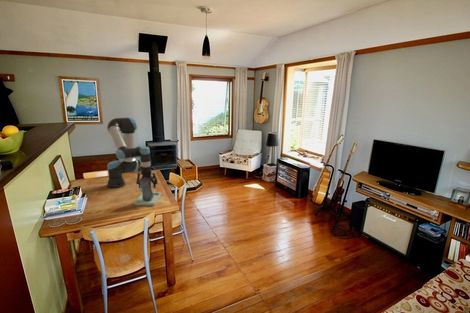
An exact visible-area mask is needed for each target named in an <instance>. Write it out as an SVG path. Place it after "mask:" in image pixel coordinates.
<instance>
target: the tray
mask: <svg viewBox="0 0 470 313" xmlns="http://www.w3.org/2000/svg"><path fill="white" fill-rule="evenodd" d="M152 193H153V198H152V199H150V200H143V199H142V193H141V194H140V195H139V196H138V197H137V198H136V200H135V201H134V202H133V206H135V207H136V206H137V207H138V206H139V207H141V206H142V207H144V206H145V207H146V206H147V207H154V206H156V204H157V203H158V201H159V200H160V197H161V196H162V192H158V191H155V192H153V191H152Z"/></svg>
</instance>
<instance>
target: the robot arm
mask: <svg viewBox="0 0 470 313" xmlns="http://www.w3.org/2000/svg"><path fill="white" fill-rule="evenodd" d="M137 129H138V125H137V122H136V120H135V118H134V117H116V118H115V117H114V118H113V119H111V120H110V121H108V123H107V132H108V133H109V135H111V138H112V140H113V141H112V142H113V143H114V146H115V148H116V151H115V155H116V158H117V159H118V160H112V161H110V162H108V163H107V168H106V169H107V174H108V175H107V176H108V179H107V180H108V181H107V183H106V184H107V188H110V189H117V188H122V187H124V186H125V185H126V181H125V179H124V178H123V175H125V174H129V173H130V174H131V173H136V172H137V178H136V182H135V184H136V185H138V188H139V190H140V191H139V192H140V193H142V188H141V185H140V184H139V182H138V180H140V179H142V178H144V176H146V177H149V178H150V179H151V184H152V186H153V187H152V192H156V188H157V187H156V186H157V185H158V183H159V182H158V179H157V176H156V172H155V171H154V172H152V164H151V162H152V160H151V150H150V147H149V146H136V147H135V145H134V134H135V132H136V131H137ZM136 158H139V159H140V171H139V170H138V169H139V161H138V160H137V159H136ZM121 160H122V161H121ZM141 175H142V176H141ZM140 177H141V178H140ZM152 177H154V178H152Z"/></svg>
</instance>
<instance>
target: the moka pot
mask: <svg viewBox="0 0 470 313" xmlns="http://www.w3.org/2000/svg"><path fill="white" fill-rule="evenodd" d="M141 178H142V177H141ZM141 178H140V179H139V180H138V182H139V184H140V185H141V188H142V192H141V194H142V199H143V200H150V199H152V198H153V193H152V192H153V189H152V188H153V185H152V181H151V179H150V178H149V177H146V176H144V178H142V179H141ZM152 178H153V179H154V177H153V176H152ZM139 184H138V185H139Z"/></svg>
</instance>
